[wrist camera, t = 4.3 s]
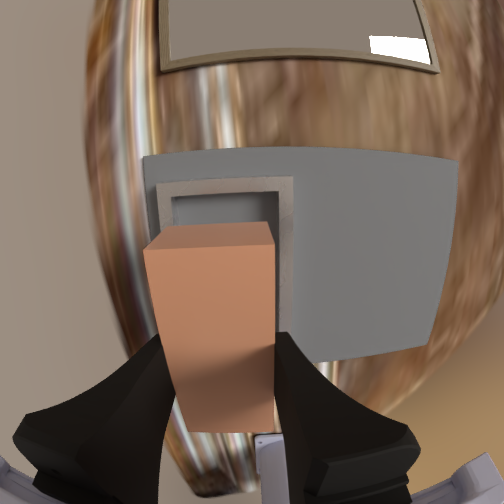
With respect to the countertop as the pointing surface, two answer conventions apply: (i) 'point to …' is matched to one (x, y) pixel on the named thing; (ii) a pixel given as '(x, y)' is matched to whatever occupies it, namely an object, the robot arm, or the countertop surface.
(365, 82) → the countertop surface
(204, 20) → the framed mirror
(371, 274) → the mat
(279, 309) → the tray frame
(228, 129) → the countertop surface
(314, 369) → the robot arm
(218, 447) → the countertop surface
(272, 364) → the tall peach block
